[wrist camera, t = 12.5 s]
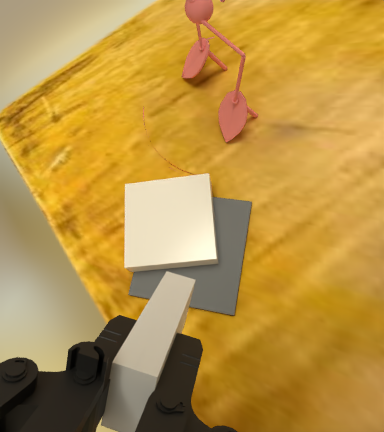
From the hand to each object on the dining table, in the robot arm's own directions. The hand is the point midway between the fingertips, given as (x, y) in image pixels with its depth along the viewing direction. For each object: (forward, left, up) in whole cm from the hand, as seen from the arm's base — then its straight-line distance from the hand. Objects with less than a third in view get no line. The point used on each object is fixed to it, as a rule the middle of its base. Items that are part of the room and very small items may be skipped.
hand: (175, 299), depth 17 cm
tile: (+5, -5, -19) cm, 20 cm away
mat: (+4, -7, -21) cm, 23 cm away
